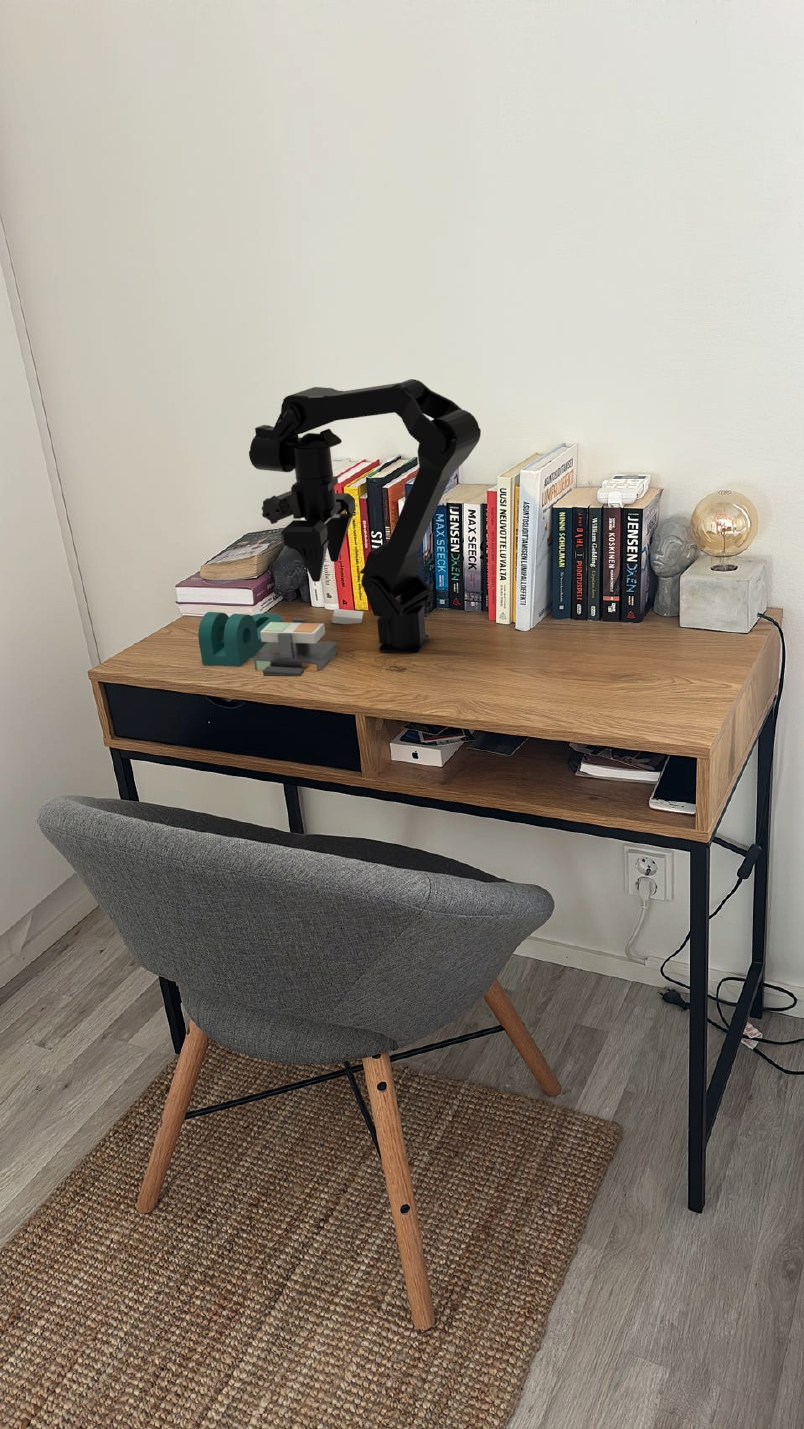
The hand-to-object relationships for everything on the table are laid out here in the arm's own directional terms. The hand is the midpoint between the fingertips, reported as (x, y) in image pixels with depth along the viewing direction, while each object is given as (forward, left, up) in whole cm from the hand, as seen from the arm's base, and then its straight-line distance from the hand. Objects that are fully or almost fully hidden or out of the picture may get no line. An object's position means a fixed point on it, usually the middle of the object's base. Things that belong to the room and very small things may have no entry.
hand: (325, 571), depth 183 cm
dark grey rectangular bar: (+2, +16, -12) cm, 20 cm away
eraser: (+2, -5, -12) cm, 13 cm away
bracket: (+13, +4, -12) cm, 19 cm away
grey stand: (+2, +11, -12) cm, 16 cm away
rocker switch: (+2, +11, -6) cm, 13 cm away
